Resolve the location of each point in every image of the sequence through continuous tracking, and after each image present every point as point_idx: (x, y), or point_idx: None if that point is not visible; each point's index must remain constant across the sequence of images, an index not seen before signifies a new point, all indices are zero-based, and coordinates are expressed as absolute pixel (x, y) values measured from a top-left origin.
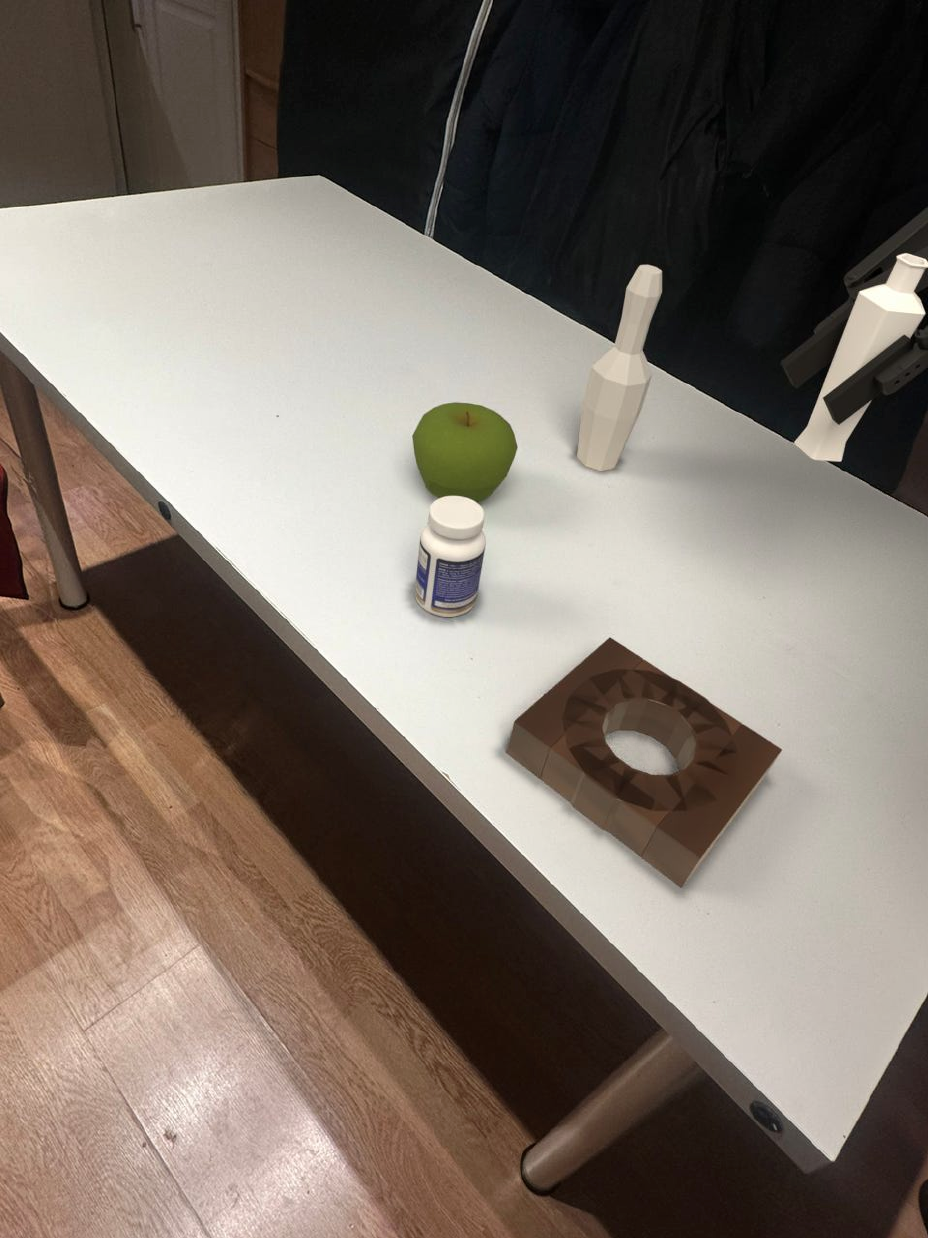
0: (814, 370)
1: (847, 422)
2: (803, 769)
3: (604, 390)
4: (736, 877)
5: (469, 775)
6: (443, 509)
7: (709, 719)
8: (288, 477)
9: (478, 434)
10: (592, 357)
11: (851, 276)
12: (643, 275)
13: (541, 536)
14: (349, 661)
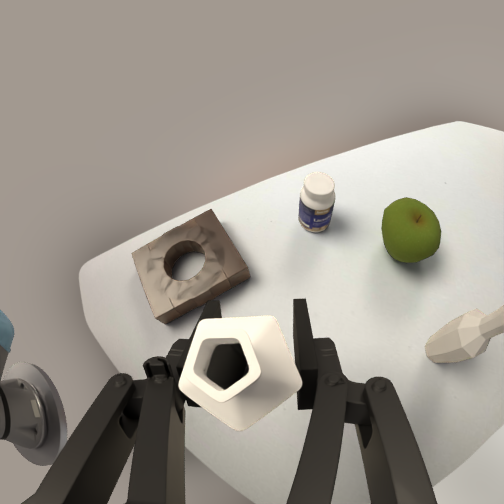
0: (294, 346)
1: (238, 374)
2: (163, 348)
3: (458, 318)
4: (135, 285)
5: (211, 207)
6: (321, 177)
7: (181, 292)
8: (401, 177)
9: (404, 220)
10: None
11: (375, 381)
12: None
13: (362, 284)
14: (279, 178)
